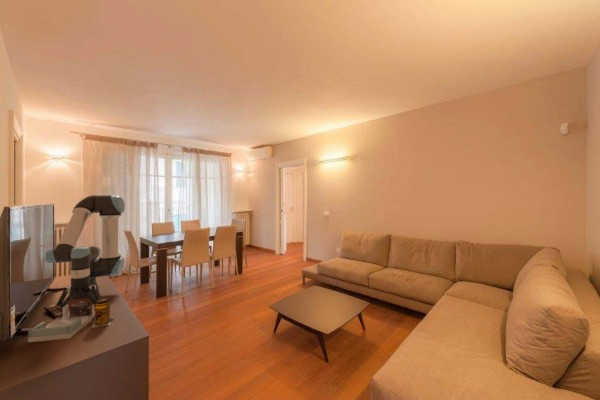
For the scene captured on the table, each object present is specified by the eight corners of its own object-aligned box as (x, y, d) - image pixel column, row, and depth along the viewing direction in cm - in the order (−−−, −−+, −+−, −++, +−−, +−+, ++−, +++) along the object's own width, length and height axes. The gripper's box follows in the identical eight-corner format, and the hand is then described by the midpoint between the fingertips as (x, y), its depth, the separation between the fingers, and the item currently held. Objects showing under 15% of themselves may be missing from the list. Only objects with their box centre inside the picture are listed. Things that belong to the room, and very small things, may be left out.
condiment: (91, 328, 119) (91, 303, 119) (97, 320, 127) (97, 297, 127) (109, 325, 122) (110, 301, 122) (114, 317, 130) (114, 294, 130)
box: (78, 321, 125) (78, 307, 125) (69, 319, 126) (69, 305, 126) (90, 315, 131) (90, 302, 131) (81, 314, 132) (81, 300, 132)
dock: (56, 322, 123) (56, 313, 123) (92, 319, 127) (92, 310, 127) (27, 342, 107) (28, 330, 107) (69, 338, 110) (70, 327, 110)
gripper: (46, 280, 122) (46, 323, 122) (103, 277, 128) (102, 318, 128) (57, 275, 130) (57, 316, 130) (110, 273, 135) (110, 311, 135)
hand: (80, 317), depth 129 cm, fingers open, 12 cm apart
